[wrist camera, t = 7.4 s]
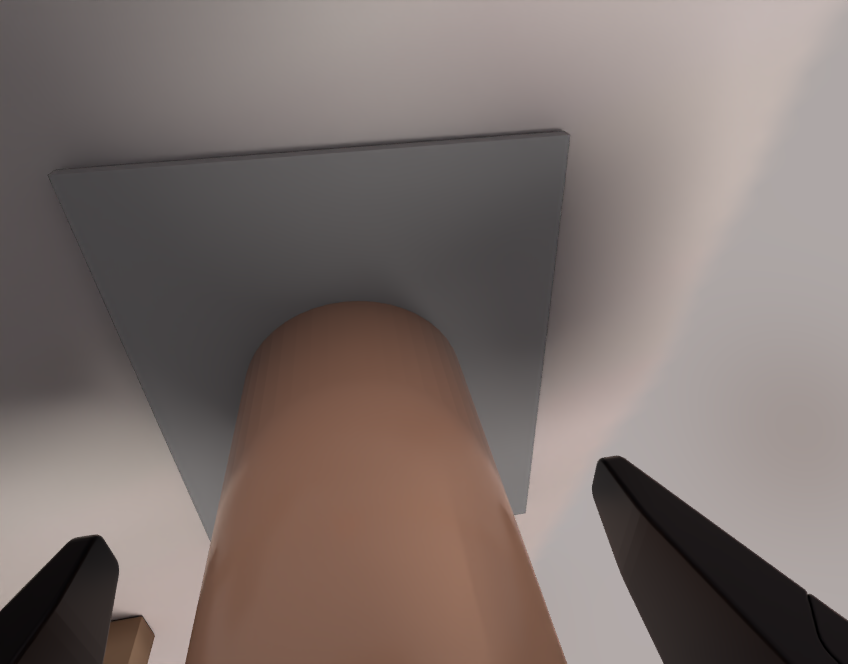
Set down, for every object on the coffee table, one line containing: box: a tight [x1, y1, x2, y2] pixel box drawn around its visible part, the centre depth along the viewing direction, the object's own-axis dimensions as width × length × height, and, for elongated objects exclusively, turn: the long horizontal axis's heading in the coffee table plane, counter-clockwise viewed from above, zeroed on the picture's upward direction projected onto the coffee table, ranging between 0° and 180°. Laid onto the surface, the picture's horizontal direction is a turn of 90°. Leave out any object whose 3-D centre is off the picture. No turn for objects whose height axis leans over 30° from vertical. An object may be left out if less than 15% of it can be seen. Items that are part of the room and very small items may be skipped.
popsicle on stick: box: [185, 301, 567, 664], centre depth 9 cm, size 5×7×8 cm
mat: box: [48, 131, 570, 542], centre depth 12 cm, size 11×9×1 cm
